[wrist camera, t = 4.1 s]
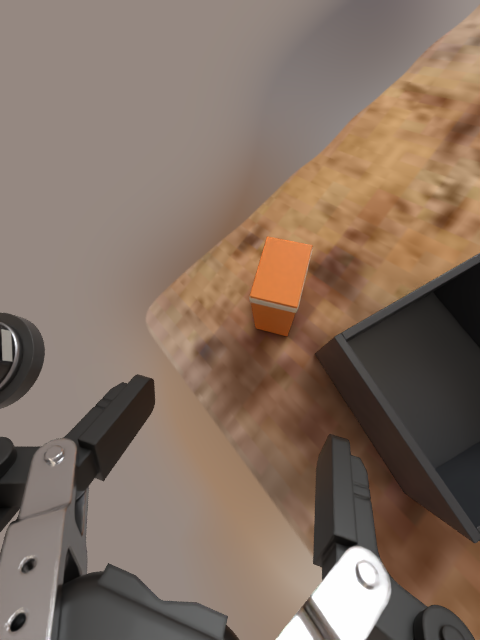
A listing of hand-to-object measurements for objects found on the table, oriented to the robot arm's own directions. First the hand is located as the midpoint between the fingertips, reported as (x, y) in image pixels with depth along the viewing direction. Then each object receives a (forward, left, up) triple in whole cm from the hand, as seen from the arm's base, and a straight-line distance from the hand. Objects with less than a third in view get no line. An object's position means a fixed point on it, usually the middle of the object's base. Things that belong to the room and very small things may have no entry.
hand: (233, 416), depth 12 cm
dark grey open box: (+15, -6, -16) cm, 23 cm away
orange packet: (+7, +7, -16) cm, 19 cm away
